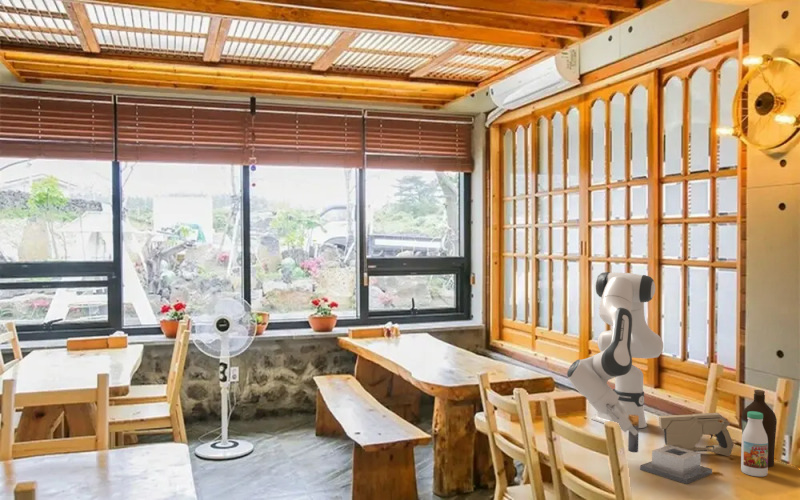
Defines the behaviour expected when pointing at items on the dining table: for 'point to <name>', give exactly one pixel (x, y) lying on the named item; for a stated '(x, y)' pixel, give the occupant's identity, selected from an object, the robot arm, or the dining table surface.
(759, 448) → the milk bottle
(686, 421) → the gun
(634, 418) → the battery
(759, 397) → the olive oil
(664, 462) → the block
